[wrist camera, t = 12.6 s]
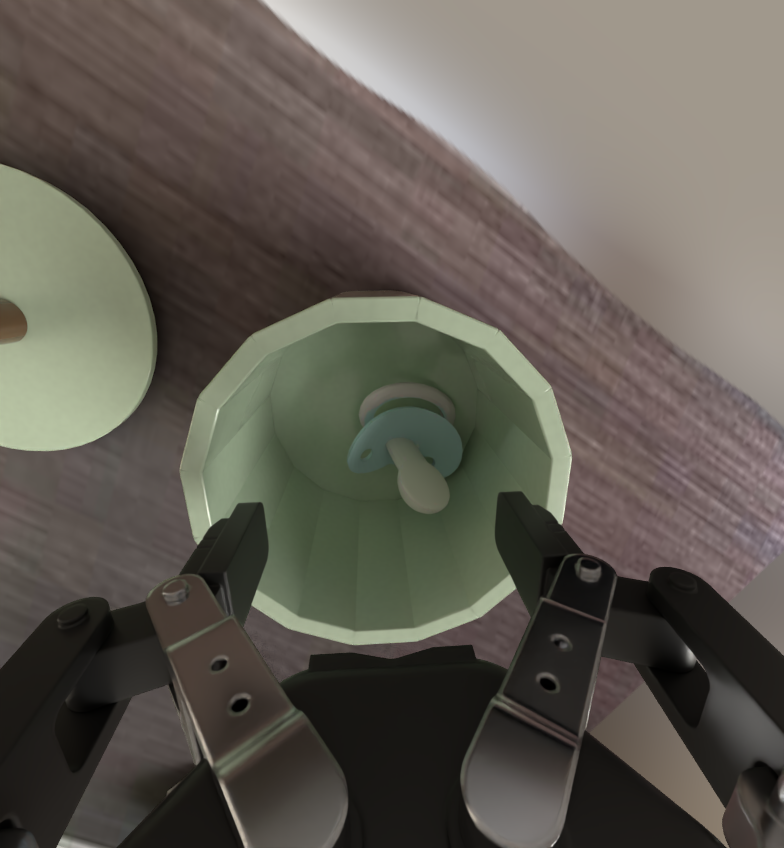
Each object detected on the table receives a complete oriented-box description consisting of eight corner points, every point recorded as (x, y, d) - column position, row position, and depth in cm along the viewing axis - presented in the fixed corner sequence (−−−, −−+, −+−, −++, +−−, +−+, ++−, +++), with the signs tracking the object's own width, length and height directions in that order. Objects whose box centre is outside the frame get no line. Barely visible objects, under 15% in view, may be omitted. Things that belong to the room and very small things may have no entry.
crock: (274, 510, 28) (216, 654, 17) (246, 292, 23) (142, 301, 13) (480, 501, 29) (547, 634, 18) (493, 288, 24) (596, 292, 13)
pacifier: (363, 365, 22) (330, 455, 24) (405, 424, 17) (358, 530, 19) (468, 391, 25) (430, 468, 28) (529, 446, 20) (476, 534, 23)
